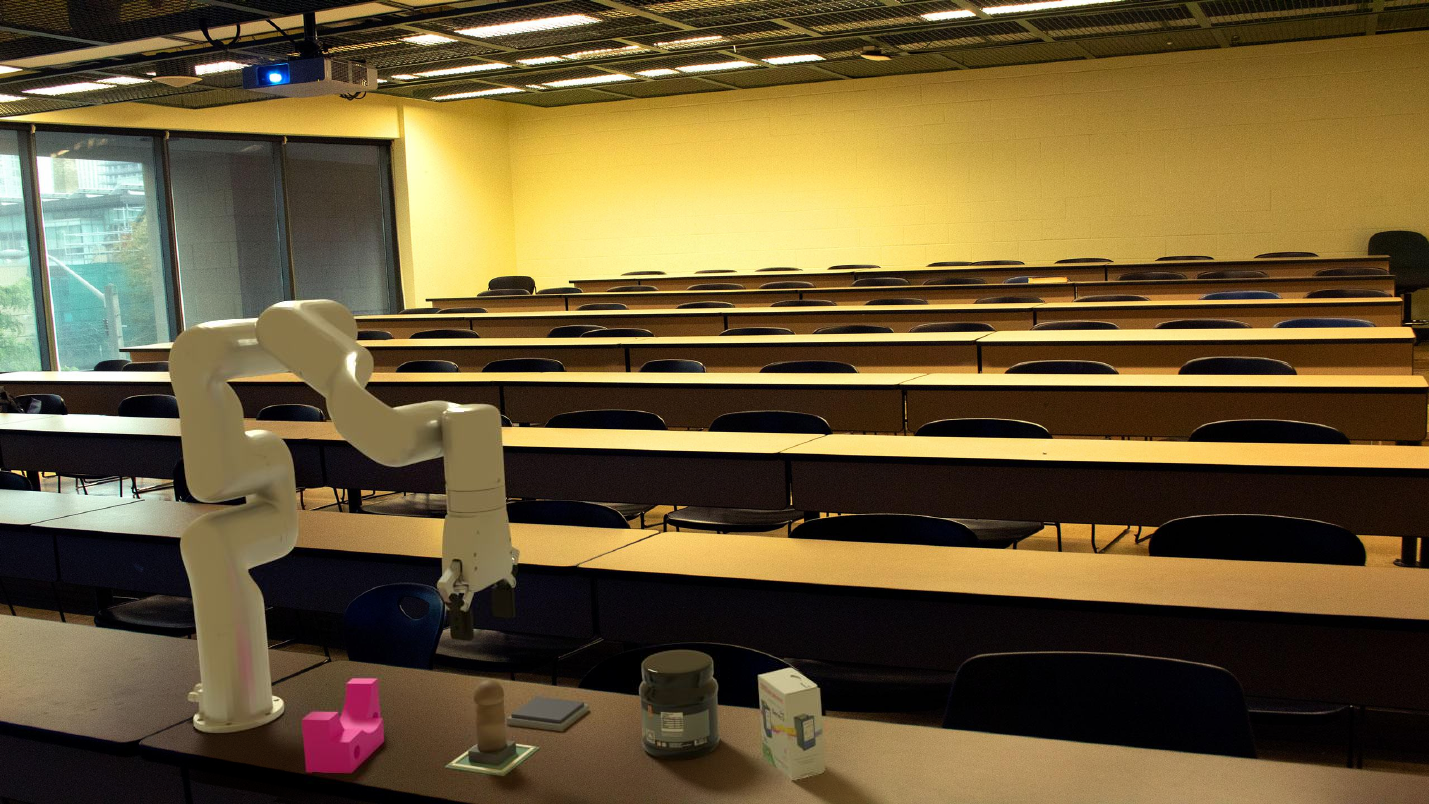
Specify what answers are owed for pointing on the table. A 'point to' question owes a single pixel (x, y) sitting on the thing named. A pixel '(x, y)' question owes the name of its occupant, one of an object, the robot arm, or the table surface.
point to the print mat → (500, 770)
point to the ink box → (791, 723)
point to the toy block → (345, 731)
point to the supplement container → (679, 705)
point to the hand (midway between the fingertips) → (484, 627)
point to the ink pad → (548, 713)
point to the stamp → (490, 726)
